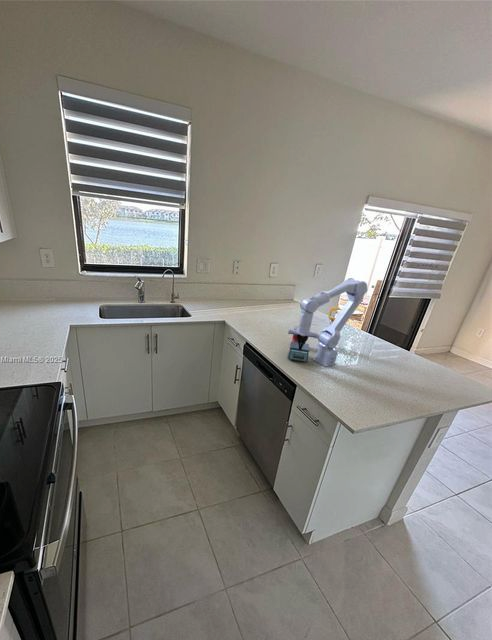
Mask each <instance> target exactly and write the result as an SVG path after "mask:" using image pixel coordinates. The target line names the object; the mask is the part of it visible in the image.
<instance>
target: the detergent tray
mask: <svg viewBox="0 0 492 640" xmlns="http://www.w3.org/2000/svg"><path fill="white" fill-rule="evenodd" d="M307 354H308V355H309V353H308V352H306V351H301V350H295V349H292V350H291V353H290V359H289V360H293V359H295V360H294V361H299V360H300V361H299V362H304V361H306V358H307ZM307 359H308V358H307Z"/></svg>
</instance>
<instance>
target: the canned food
mask: <svg viewBox="0 0 492 640" xmlns="http://www.w3.org/2000/svg"><path fill="white" fill-rule="evenodd" d="M298 326H299V325H296V326H294V328H293V330H298ZM302 337H303V336H302ZM291 341H292V342H298V340H297V335H293V334H292V338H291ZM306 342H307V341H306ZM306 342H305V344H307V343H306ZM301 343H302V341H301Z"/></svg>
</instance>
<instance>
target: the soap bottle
mask: <svg viewBox="0 0 492 640" xmlns="http://www.w3.org/2000/svg"><path fill="white" fill-rule="evenodd" d="M340 309H341V308H340V307H339V306H334V307H331V308H330V309H329V312H328V318H329V320H330V321H331V322H329V324H328V326H326V327H324V328H323V329H322V331H323V330H324V329H325V328H327V327H330V326H331V324H332V323H333V321H334V320H335V319H336V317H332V316H331V315H332V312H333V311H336V310H340ZM331 335H332V334H331ZM334 349H335V350H336V347H334Z"/></svg>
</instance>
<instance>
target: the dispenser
mask: <svg viewBox="0 0 492 640" xmlns="http://www.w3.org/2000/svg"><path fill="white" fill-rule="evenodd" d="M292 349H295V350H298V349H299V344H298V342H292V340H291V342H290V346H289V351H288V357H287V358H288V359H289V360H291V359H290V353H291V350H292ZM301 351H306V352H308V354H307V358H306V361H303V362H308V357H309V353H310V344H309V343H305V344H304V345H303V347H302V349H301ZM292 361H296V360H295V359H292ZM298 361H299V362H301V361H300V360H298Z"/></svg>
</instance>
